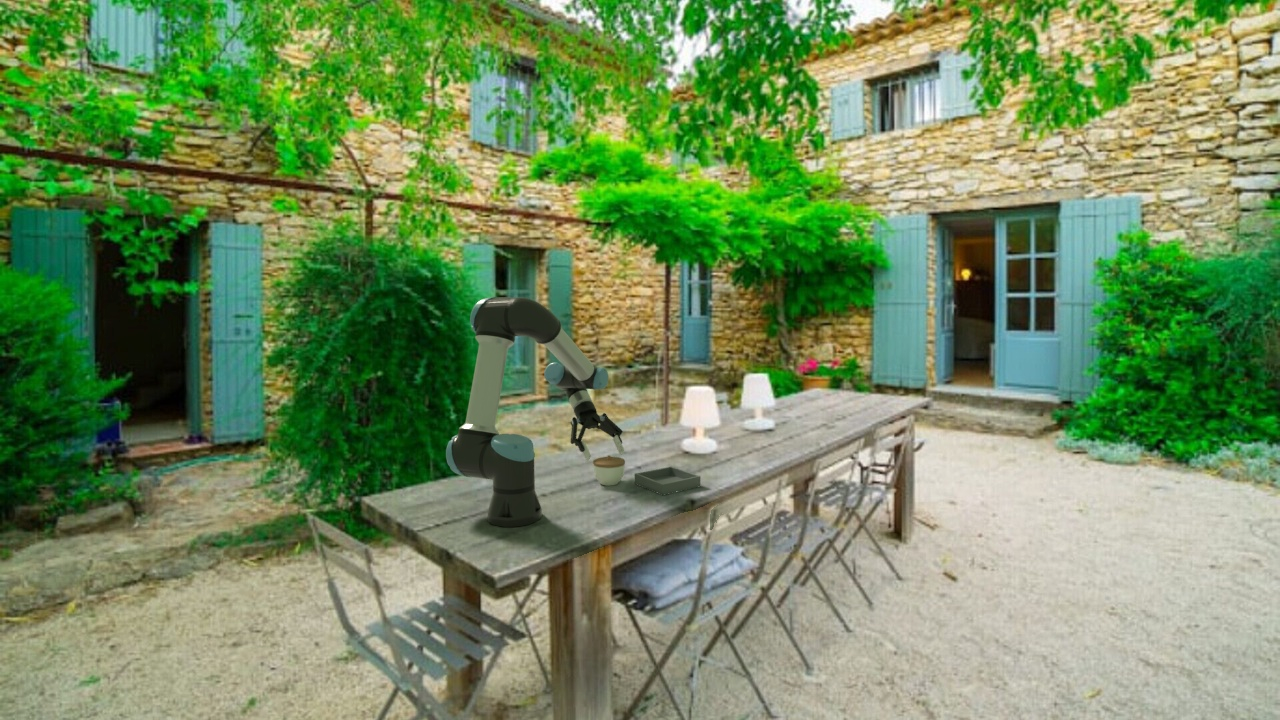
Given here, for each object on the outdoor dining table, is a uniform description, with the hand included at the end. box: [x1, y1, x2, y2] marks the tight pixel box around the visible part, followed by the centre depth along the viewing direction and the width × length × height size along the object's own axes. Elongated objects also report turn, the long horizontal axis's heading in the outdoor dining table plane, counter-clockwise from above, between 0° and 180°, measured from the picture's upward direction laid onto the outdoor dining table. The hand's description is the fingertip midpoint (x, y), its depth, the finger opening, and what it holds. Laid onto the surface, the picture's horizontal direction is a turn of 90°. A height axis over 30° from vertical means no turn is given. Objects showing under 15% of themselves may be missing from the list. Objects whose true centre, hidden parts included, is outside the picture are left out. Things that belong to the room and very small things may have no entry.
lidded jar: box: [592, 455, 626, 486], centre depth 211 cm, size 11×11×9 cm
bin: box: [634, 466, 701, 496], centre depth 208 cm, size 16×16×4 cm
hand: (605, 455), depth 214 cm, fingers open, 13 cm apart
